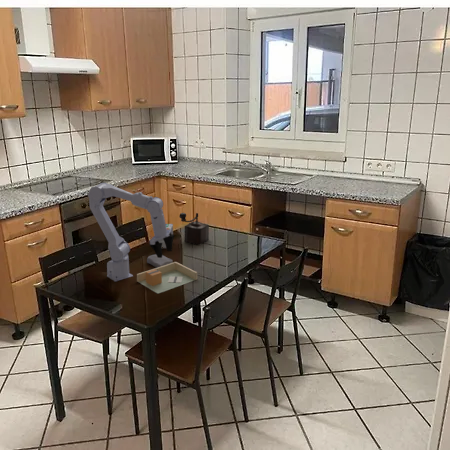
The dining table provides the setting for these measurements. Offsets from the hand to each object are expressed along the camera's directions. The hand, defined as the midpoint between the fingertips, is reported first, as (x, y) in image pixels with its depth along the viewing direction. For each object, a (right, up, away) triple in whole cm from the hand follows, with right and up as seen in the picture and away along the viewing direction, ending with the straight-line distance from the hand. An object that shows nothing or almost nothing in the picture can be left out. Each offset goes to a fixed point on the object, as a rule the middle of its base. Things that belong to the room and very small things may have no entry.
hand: (164, 254), depth 198 cm
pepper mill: (+9, +3, +53) cm, 54 cm away
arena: (+1, -13, +3) cm, 13 cm away
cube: (-5, -13, 0) cm, 14 cm away
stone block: (-5, -7, +22) cm, 23 cm away
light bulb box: (-6, +2, +47) cm, 47 cm away
